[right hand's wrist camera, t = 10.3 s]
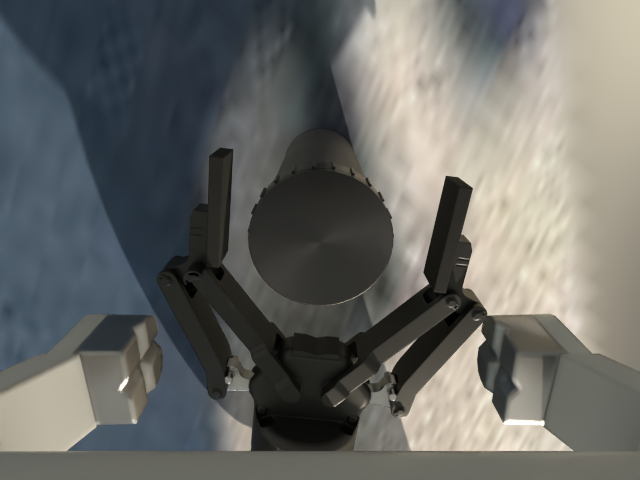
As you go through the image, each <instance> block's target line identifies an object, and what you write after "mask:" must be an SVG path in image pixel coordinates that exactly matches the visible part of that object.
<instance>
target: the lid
mask: <svg viewBox="0 0 640 480" xmlns="http://www.w3.org/2000/svg"><path fill="white" fill-rule="evenodd" d="M260 197H261V198H260V200H259V202H258V204H255V206H254V208H253V210H252V213H251V214H253V215H252V218H251V221H250V226H249V229H248V232H249V234H248V242H249V250H250V254H251V258H252V260H253V263H254V265H255V267H256V269H257V271H258V272H259V274H260V275H261V277H262V278H263V279H264V280H265V282H266V283H267V284H268V285H269V286H270V287H272V288H273V289H274V290H275V291H276V292H278V293H280V294H281V295H283V296H284V297H287V298H289V299H291V300H293V301H296V302H299V303H303V304H307V305H316V306H326V305H334V304H339V303H343V302H346V301H348V300H351V299H353V298H355V297H357V296H359V295H361V294H362V293H364V292H365V291H367V290H368V289H369V288H370V287H371V286H372V285H373V284H374V283H375V282H376V281H377V280H378V279H379V278H380V276H381V275H382V273H383V272H384V270H385V268H386V266H387V264H388V262H389V259H390V257H391V253H392V248H393V237H394V234H393V227H392V223H391V219H392V217H391V215H390V213H389V211H388V209H387V208H386V207H385V205H384V203H383V201H384V199H383V197H382V195H381V193H380V192H377V191H376V189H375V188H374V187H373V185H372V184H371V182H370V180H369V178H368V177H367V178H364V177H363V176H362V175H360V174H359V173H357V172H355V171H354V169H353V168H352V167H351V168H347V167H345V166H342V165H338V164H335V162H334V161H332V163H326V162H315V161H312V163H308V164H304V165H300V166H297V167H296V165H294V166H293V168H292V169H290V170H288V171H286V172H285V173H283V174H281V175H280V176H279V174H278V175H277V176H276V178H275V180H274V181H273V182H272V183H271V184H270V185H269V186H268V187H267V189H266V188H264V189H263V191H262V193H261V195H260Z"/></svg>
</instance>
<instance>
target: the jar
mask: <svg viewBox="0 0 640 480" xmlns="http://www.w3.org/2000/svg"><path fill="white" fill-rule="evenodd" d="M312 161H315V162H326V163H332V161H334V162H335V164H338V165H342V166H345V167H347V168H351V167H352V168H353V169H354V171H355V172H357V173H359V174H360V175H362V176H363V177H364V178H365V176H364V174H363V171H362V169H361V167H360V164H359V162H358V160H357V158H356V155H355V153H354V151H353V148H352V147H351V145H350V143H349V142H348V141H347V140H346V139H345V138H344V137H343V136H342V135H340V134H339V133H337V132H335V131H332V130H329V129H312V130H309V131H306V132H304V133H303V134H301V135H299V136H298V137H297V138H296V139H295V140H294V141H293V142H292V144H291V145H290V147H289V149H288V151H287V153H286V156H285V158H284V160H283V163H282V165H281V167H280V170H279V172H278V174H279V176H280V175H281V174H283V173H285V172H286V171H288V170H290V169H292V168H293V166H294V165H296V167H297V166H300V165H304V164H308V163H312ZM278 174H277V175H278Z"/></svg>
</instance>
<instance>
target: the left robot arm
mask: <svg viewBox="0 0 640 480" xmlns="http://www.w3.org/2000/svg"><path fill="white" fill-rule="evenodd" d="M232 164H233V149H226V148H220V149H218V150H217V151H215V152H214V153H213V154H211V155H210V157H209V188H208V204H201V203H200V204H199V205H198V206H197V207H196V208H195V209H194V211H193V213H192V215H191V217H190V254H189V256H185V257H182V256H174V257H173V258H171V260H170V261H169V262H168V263H167V265H166V266H165V267H164V268H163V269H162V271H161V272H160V273H159V275H158V276H157V283H158V285H159V287H160V289H161V291H162V292H163V294H164V296H165V298H166V300H167V302H168V304H169V305H170V307H171V309H172V311H173V313H174V315H175V316H176V318H177V320H178V322H179V324H180V326H181V327H182V329H183V331H184V333H185V335H186V337H187V338H188V340H189V342H190V344H191V346H192V348H193V349H194V351H195V353H196V355H197V357H198V359H199V360H200V362H201V364H202V366H203V368H204V370H205V371H206V378H207V387H208V394H209V396H210V397H211V398H212V399H215V400H221V399H223V398H224V397H225V396H226V393H227V391H249V392H250V394H251V395H252V397H253V399H254V415H253V427H252V438H251V451H353V448H354V443H355V438H356V433H357V428H358V423H359V418H360V414H361V412H362V411H363V409H364V408H365V407H366V406H367V405H368V404H369V403H370V404H376V405H381V406H386V407H390V408H391V413H392V415H393V416H394V417H396V418H404V417H405V416H407V415H408V413H409V411H410V408H411V406H412V403H413V401H414V398H415V396H416V394H417V393H418V392H419V390H420V389H421V388H422V387H423V386H424V385H425V384H426V383H427V382H428V381H429V380H430V379H431V378H432V376H433V375H434V374H435V373H436V372H437V371H438V370H439V369H440V368H441V367H442V366H443V365H444V364H445V362H446V361H447V360H448V359H449V358H450V357H451V356H452V355H453V354H454V353H455V352H456V351H457V349H458V348H459V347H460V346H461V345H462V344H463V343H464V342H465V341H466V340H467V339H468V338H469V337H470V335H471V334H472V333H473V332H474V331H475V330H476V329H477V328H478V327H479V326H480V325H481V324H482V323H483V321H484V319H485V316H487V311H486V309H485V308H484V307H483V305H482V304H481V302H480V301H479V299H478V298H477V297H476V295H475V294H474V292H473V291H472V290H470V289H464V288H462V287H463V283H464V279H465V275H466V272H467V268H468V264H469V260H470V257H471V253H472V248H471V243H470V242H469V241H468V239H467V238H466V237H465V236H464V235H461V233H462V229H463V225H464V221H465V217H466V213H467V209H468V206H469V202H470V198H471V194H472V190H473V188H472V187H470V186H469V185H468V184H466V183H465V182H464V181H462V180H461V179H460V178H458V177H451V176H446V178H445V182H444V186H443V191H442V195H441V199H440V204H439V208H438V212H437V216H436V221H435V225H434V229H433V234H432V238H431V242H430V246H429V251H428V255H427V259H426V264H425V268H424V272H423V273H424V275H425V276H426V278H427V280H428V282H429V284H428V285H427V286H426V287H424V288H423V289H422V290H420V291H419V292H418V293H416V294H415V295H414V296H412V297H411V298H410V299H409V300H407V301H406V302H405V303H403V304H402V305H401V306H399V307H398V308H397V309H395V310H394V311H393V312H391V313H390V314H389V315H388V316H386V317H385V318H384V319H382V320H381V321H380V322H378V323H377V324H376V325H374V326H373V327H372V328H370V329H369V330H368V331H366V332H360V333H358V334H357V335H355V336H354V337H353V338H351V339H350V340H349V341H347V342H346V343H345V344H344V343H343V342H341V341H339V337H329V336H327V337H318V338H316V337H313V336H310V335H307V334H301V333H294V336H291V337H288V338H286V337H285V336H284V335H283V334H282V332H281V331H280V330H279V329H278V327H277V326H276V325H275V324H274V323H273V322H269V321H268V320H267V319H266V317H265V316H264V315H263V314H262V312H261V311H260V310H259V309H258V307H257V306H256V305H255V304H254V302H253V301H252V300H251V299H250V297H249V296H248V295H247V294H246V292H245V291H244V290H243V289H242V288H241V286H240V285H239V284H238V283H237V281H236V280H235V279H234V278H233V276H232V275H231V274H230V273H229V271H228V270H227V269H226V268H225V266H224V265H223V264H222V261H223V259H224V257H225V255H226V253H227V251H228V241H229V222H230V202H231V183H232ZM208 302H209V303H210V305H211V306H212V307H213V308H214V309H215V311H216V312H217V313H218V314H219V315H220V316H221V318H222V319H223V320H224V321H225V322H226V323H227V325H228V326H229V327H230V328H231V329H232V331H233V332H234V333H235V334H236V335H237V336H238V338H239V339H240V340H241V341H242V342H243V344H244V345H245V346H246V347H247V348H248V349H249V351H250V353H251V357H252V359H253V361H254V363H255V364H256V365H255V367H254V368H253V369H252V371H249V370H246V369H244V368H243V367H242V365H241V362H240V361H239V358H238V356H236V355H233V356H232V354H231V349H230V345H229V343H228V341H227V339H226V337H225V335H224V333H223V331H222V329H221V327H220V325H219V323H218V321H217V319H216V317H215V315H214V313H213V311H212V309H211V307H210V305H209V303H208ZM418 337H419V338H418ZM417 338H418V339H417ZM416 339H417V340H416ZM414 340H416V341H415V342H414V343H413V344H412V346H411V347H410V348H409V349H408V350H407V351H406V352H405V353H404V355H403V356H402V357H401V358H400V359H399V361H398V362H397V363H396V365H395V366H394V368H393V370H392V373H391V372H385V373H384V377H383V378H382V379H381V381H379V382H378V383H374V384H373V383H370V381H369V379H370V378H371V377H373V376H374V375H375V374H376V373H377V372H378V370H379V367H380V366H381V365H382V364H383V363H384V362H385V361H387V360H388V359H390V358H391V357H392V356H394V355H395V354H396V353H398V352H399V351H401V350H402V349H403V348H405V347H406V346H407V345H409V344H410V343H412V342H413V341H414ZM357 357H358V360H357V359H356V358H357Z"/></svg>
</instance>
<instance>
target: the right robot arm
mask: <svg viewBox="0 0 640 480" xmlns="http://www.w3.org/2000/svg"><path fill="white" fill-rule="evenodd" d="M158 332H159V330H158V325H157V320H156V318H155V317H154V316H153V315H117V314H112V315H110V314H90V315H85V316H84V317H83V318H82V319H81V320H80V321H79V322H78V323H77V324H76V325H75V326H74V327H73V328H72V329H71V330H70V331H69V333H68V334H67V335H66V336H65V337H64V338H63V339H62V340H61V341H60V342H59V343H58V344H57V345H56V346H55V347H54V348H53V349H52V350H51V351H50V352H49V353H48V354H39V355H37V356H34V357H32V358H30V359H28V360H25V361H23V362H21V363H19V364H16V365H14V366H12V367H10V368H7V369H5V370H3V371H1V372H0V480H640V372H639V371H637V370H635V369H633V368H630V367H628V366H626V365H624V364H621V363H619V362H617V361H615V360H612V359H610V358H608V357H606V356H603V355H601V354H592V353H591V352H590V351H589V350H588V349H587V348H586V347H585V346H584V345H583V344H582V343H581V342H580V341H579V340H578V339H577V337H576V336H575V335H574V334H573V333H572V332H571V331H570V330H569V329H568V328H567V327H566V326H565V325H564V324H563V323H562V322H561V321H560V320H559V319H558V318H557V317H556V316H554V315H551V314H535V315H495V316H485V319H484V321H483V325H482V330H481V332H482V333H483V335H484V337H485V338H486V341H485V342H484V343H483V344H482V345H481V346H480V347H479V350H478V358H477V363H478V372H479V376H480V379H481V381H482V383H483V385H484V387H485V388H486V389H487V390H489V391H490V392H492V393H493V399H492V403H493V404H494V406H495V408H496V410H497V412H498V414H499V416H500V418H501V419H502V421H503V423H504V424H532V425H544V426H543V427H544V428H546V429H547V430H548V431H550V432H551V433H552V434H553V435H555V436H556V437H557V438H558V439H560V440H561V441H562V442H563V443H565V444H566V445H567V446H568V447H570V448H571V449H572V450H574V451H67V450H68V449H69V448H70V447H72V446H73V445H74V444H75V443H77V442H78V441H79V440H81V439H82V438H83V437H84V436H86V435H87V434H88V433H89V432H91V431H92V430H93V429H94V428H96V427H97V426H96V425H108V424H136V423H137V421H138V419H139V418H140V416H141V414H142V412H143V410H144V408H145V406H146V404H147V403H148V398H147V393H148V392H150V391H151V390H153V389H154V388H155V387H156V385H157V383H158V381H159V379H160V375H161V371H162V362H163V356H162V349H161V347H160V346H159V345H158V344H157V343H156V342H155V341H154V338H155V337H156V335H157V333H158Z"/></svg>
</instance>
